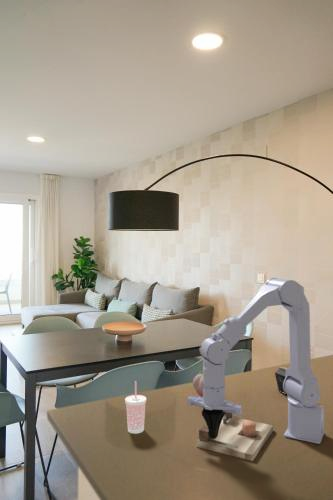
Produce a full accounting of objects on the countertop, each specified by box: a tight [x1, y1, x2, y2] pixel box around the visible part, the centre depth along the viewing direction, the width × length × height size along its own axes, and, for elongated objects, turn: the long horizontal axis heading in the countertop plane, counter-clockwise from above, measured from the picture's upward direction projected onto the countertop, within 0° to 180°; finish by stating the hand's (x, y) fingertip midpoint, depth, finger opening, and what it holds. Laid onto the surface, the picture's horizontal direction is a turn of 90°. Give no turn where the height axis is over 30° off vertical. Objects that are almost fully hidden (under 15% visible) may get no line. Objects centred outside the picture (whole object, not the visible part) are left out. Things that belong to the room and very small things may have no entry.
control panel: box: [196, 414, 274, 462], centre depth 112 cm, size 15×19×3 cm
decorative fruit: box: [192, 370, 203, 397], centre depth 141 cm, size 9×8×10 cm
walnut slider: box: [198, 425, 211, 441], centre depth 108 cm, size 2×3×2 cm
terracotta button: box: [241, 420, 257, 438], centre depth 112 cm, size 4×4×3 cm
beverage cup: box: [124, 380, 147, 434], centre depth 117 cm, size 6×6×14 cm
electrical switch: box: [274, 366, 288, 395], centre depth 145 cm, size 9×5×9 cm, turn 30°
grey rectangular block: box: [225, 412, 234, 420], centre depth 120 cm, size 1×3×3 cm, turn 151°
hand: (214, 437), depth 107 cm, fingers closed
